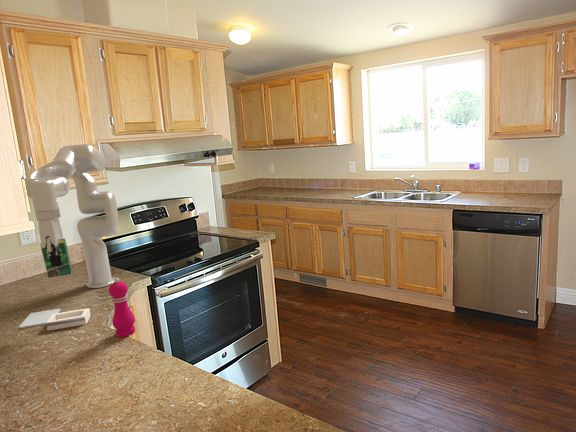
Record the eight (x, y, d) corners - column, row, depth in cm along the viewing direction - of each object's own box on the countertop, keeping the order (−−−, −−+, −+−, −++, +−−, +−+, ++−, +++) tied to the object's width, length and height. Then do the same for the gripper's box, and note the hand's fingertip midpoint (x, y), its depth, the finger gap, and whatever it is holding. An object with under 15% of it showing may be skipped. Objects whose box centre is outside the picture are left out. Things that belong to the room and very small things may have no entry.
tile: (30, 314, 172) (30, 313, 172) (60, 309, 174) (60, 308, 174) (18, 328, 160) (18, 327, 159) (51, 323, 162) (51, 321, 162)
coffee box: (46, 278, 155) (39, 243, 152) (48, 275, 158) (41, 241, 155) (71, 274, 157) (64, 239, 154) (72, 272, 160) (66, 237, 157)
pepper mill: (129, 338, 144) (119, 281, 140) (110, 338, 146) (100, 281, 142) (141, 328, 151) (131, 274, 147) (122, 328, 153) (112, 274, 149)
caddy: (53, 321, 163) (52, 314, 163) (90, 315, 166) (89, 308, 166) (46, 331, 155) (45, 324, 154) (85, 325, 158) (84, 317, 157)
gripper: (43, 212, 160) (53, 259, 164) (28, 220, 144) (39, 273, 148) (65, 209, 161) (74, 256, 165) (53, 218, 146) (63, 269, 150)
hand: (58, 263), depth 156 cm, fingers closed on coffee box, 3 cm apart
